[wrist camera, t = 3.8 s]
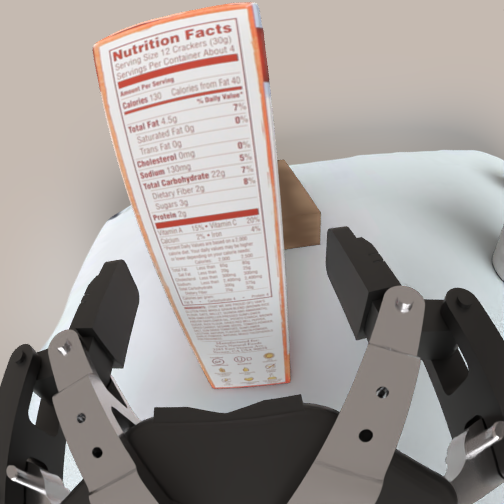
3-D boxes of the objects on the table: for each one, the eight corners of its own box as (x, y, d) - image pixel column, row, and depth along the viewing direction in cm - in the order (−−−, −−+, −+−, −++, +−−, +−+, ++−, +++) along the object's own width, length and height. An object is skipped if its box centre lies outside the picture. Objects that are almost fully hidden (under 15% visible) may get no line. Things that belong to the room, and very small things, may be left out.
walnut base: (285, 181, 47) (283, 159, 45) (319, 244, 31) (320, 212, 28) (182, 196, 47) (177, 175, 45) (161, 267, 30) (151, 237, 28)
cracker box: (216, 269, 29) (174, 58, 17) (273, 263, 29) (251, 46, 17) (206, 392, 18) (83, 38, 6) (292, 386, 17) (267, -8, 5)
